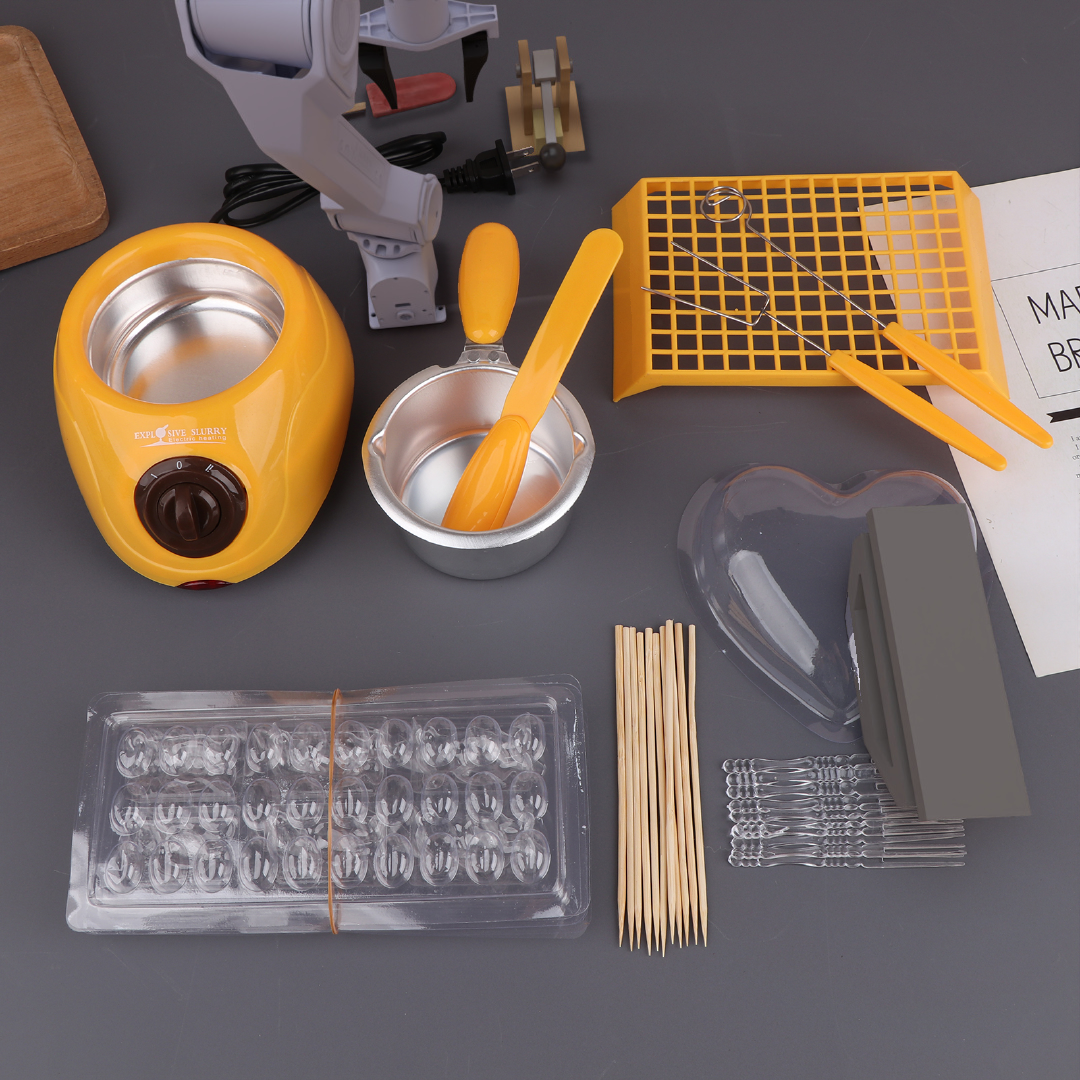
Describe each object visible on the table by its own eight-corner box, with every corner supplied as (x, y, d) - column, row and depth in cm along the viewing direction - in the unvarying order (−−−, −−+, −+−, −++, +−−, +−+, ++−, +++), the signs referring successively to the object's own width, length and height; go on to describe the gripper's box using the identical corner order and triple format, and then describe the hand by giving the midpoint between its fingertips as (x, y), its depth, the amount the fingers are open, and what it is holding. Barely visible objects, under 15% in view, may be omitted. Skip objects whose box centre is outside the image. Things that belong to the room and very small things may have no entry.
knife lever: (567, 174, 97) (568, 166, 94) (539, 177, 97) (540, 169, 94) (556, 58, 95) (557, 46, 92) (528, 61, 95) (528, 49, 92)
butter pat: (562, 152, 99) (563, 136, 96) (536, 154, 98) (535, 138, 96) (558, 123, 100) (559, 107, 98) (532, 126, 100) (531, 109, 98)
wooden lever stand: (584, 158, 100) (588, 88, 90) (514, 164, 100) (510, 95, 90) (574, 88, 103) (576, 14, 94) (505, 95, 103) (501, 21, 94)
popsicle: (322, 92, 101) (450, 66, 102) (325, 104, 103) (452, 78, 104) (329, 123, 99) (459, 95, 101) (332, 134, 101) (461, 107, 102)
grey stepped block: (833, 548, 85) (871, 507, 74) (915, 544, 85) (965, 503, 74) (876, 823, 77) (926, 820, 66) (967, 818, 77) (1031, 815, 66)
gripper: (489, -65, 79) (498, 61, 92) (327, -51, 79) (359, 74, 92) (497, -7, 77) (505, 115, 90) (330, 9, 77) (361, 128, 90)
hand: (431, 98), depth 91 cm, fingers open, 7 cm apart
